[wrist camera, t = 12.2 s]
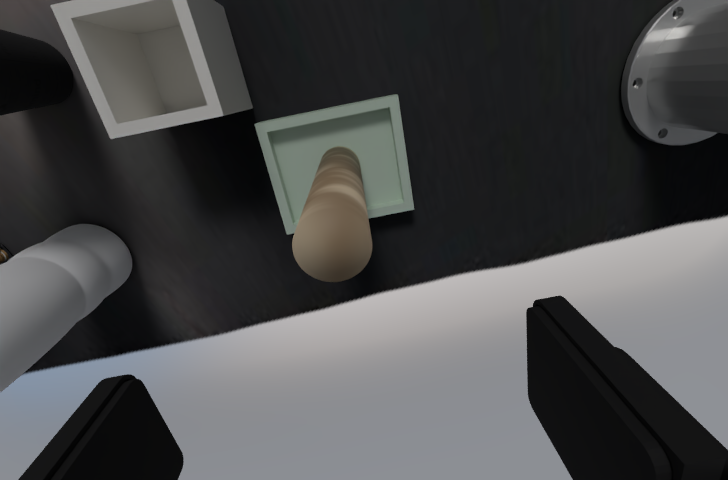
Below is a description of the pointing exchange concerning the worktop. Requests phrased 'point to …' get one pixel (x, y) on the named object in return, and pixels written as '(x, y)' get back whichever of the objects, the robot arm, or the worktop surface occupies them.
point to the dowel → (334, 220)
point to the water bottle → (55, 291)
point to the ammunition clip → (4, 254)
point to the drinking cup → (31, 74)
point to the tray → (331, 129)
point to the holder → (154, 61)
